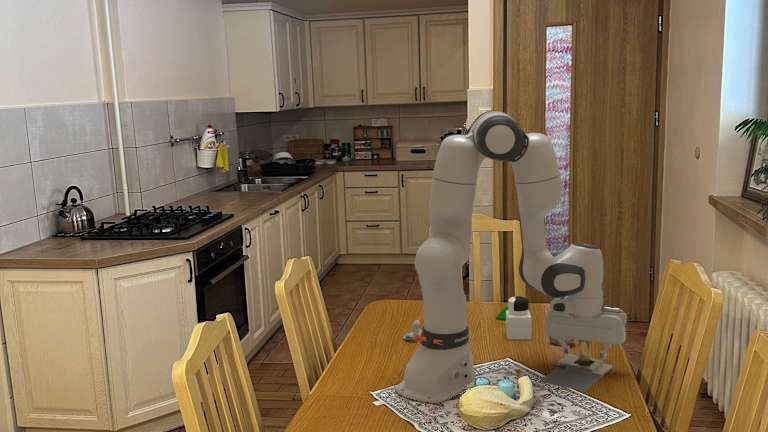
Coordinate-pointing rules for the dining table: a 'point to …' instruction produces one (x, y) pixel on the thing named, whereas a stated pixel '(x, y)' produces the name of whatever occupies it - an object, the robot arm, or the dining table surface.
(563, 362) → the frame
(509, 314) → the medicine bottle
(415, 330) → the pacifier
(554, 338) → the garlic bulb
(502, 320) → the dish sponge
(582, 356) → the brass pin
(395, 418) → the dining table surface
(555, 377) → the mat
